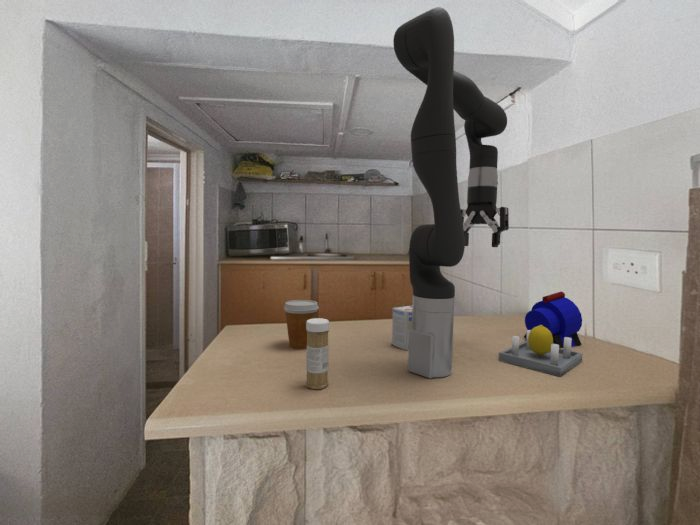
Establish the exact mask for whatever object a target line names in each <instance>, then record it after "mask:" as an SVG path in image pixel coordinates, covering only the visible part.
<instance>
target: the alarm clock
mask: <svg viewBox="0 0 700 525" xmlns="http://www.w3.org/2000/svg"><path fill="white" fill-rule="evenodd" d="M565 296H566V294H565V292H563V291H559V292H554V293H551V294H547V295H545V296H542V300H539V301H537V302H535V303H534V304H533V305H532V308H531V310H529V311H528V312H527V313H526V315H525V317H524V324H525V327H526V331H527V330H532V329H533V328H534V327H537V326H539V325H543V326H544V327H546V328H547V329H548V330H549V331H550V332H551V334H552V337H553V344H558V345H559V348H560V349H563V348H564V337H569V338H572V341H571V348H573V347H581V346H580V345H582V343H581V340H580V338H579V334H578V332H579V331H580V330H581V328H582V326H583V317H582V313H581V310H580V309H579V307H578V306H577V305H576V303H575V302H574V301H572V300H571V299H569V297H565ZM523 338H527V332H526V333H525V335H524V337H523ZM582 346H583V345H582Z"/></svg>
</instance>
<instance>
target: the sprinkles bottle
mask: <svg viewBox="0 0 700 525" xmlns="http://www.w3.org/2000/svg"><path fill="white" fill-rule="evenodd" d="M306 330H307V349H306V358H305V359H306V360H305V363H306V364H305V366H306V368H305V370H306V382H305V385H306V387H307V388H309V389H312V390H323V389H325V388H326V387H327V386H328V385H329V381H328V377H329V376H328V374H329V373H328V372H329V371H328V370H329V331H330V321H329V319H327V318H321V317H318V318H317V317H316V318H314V319H309V320H307V322H306Z"/></svg>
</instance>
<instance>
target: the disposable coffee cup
mask: <svg viewBox="0 0 700 525" xmlns="http://www.w3.org/2000/svg"><path fill="white" fill-rule="evenodd" d="M319 308H320V307H319V305H318V302H317V301H315V300H308V299H293V300H288V301H286V302H285V304H284V306H283V310H284V312H285V318H286V319H285V320H286V328H287V334H288V336H287V337H288V345H289V348H291V349H294V350H307V330H306V322H307V320H309V319H314V318H317V315H318V311H319Z"/></svg>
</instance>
